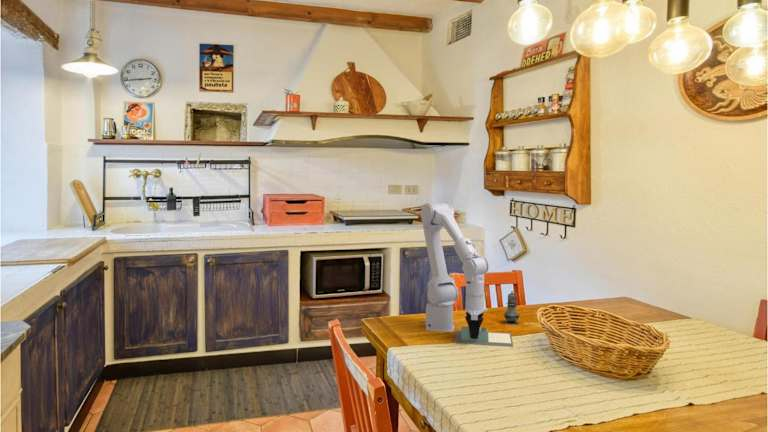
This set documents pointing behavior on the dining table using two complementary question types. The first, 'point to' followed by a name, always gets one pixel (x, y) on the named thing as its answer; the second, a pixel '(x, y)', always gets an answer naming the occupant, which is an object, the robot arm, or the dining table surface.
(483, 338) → the teal block
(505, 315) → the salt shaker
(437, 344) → the dining table surface
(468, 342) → the mat
